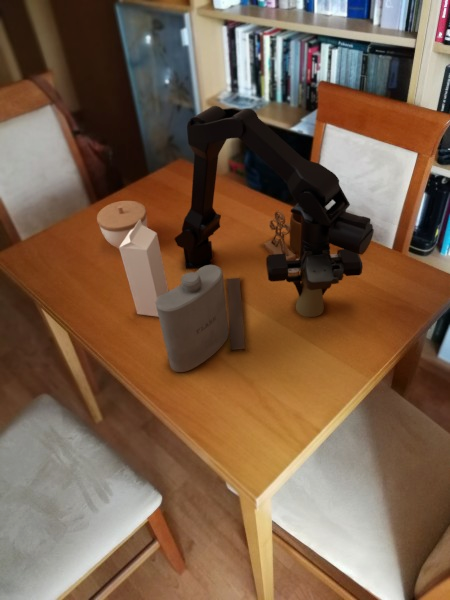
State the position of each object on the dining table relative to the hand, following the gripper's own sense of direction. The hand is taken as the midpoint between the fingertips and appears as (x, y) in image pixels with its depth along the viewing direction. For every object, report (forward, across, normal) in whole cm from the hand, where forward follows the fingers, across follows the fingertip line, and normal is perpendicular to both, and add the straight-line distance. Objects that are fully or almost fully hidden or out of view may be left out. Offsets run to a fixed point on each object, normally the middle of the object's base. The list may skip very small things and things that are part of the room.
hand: (311, 294), depth 102 cm
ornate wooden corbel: (+4, -4, +21) cm, 22 cm away
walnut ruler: (+4, -16, 0) cm, 17 cm away
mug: (+4, +3, +20) cm, 21 cm away
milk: (+4, -35, +4) cm, 35 cm away
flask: (+4, -24, -10) cm, 26 cm away
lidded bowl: (+4, -44, +30) cm, 53 cm away
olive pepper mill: (+4, 0, 0) cm, 4 cm away
